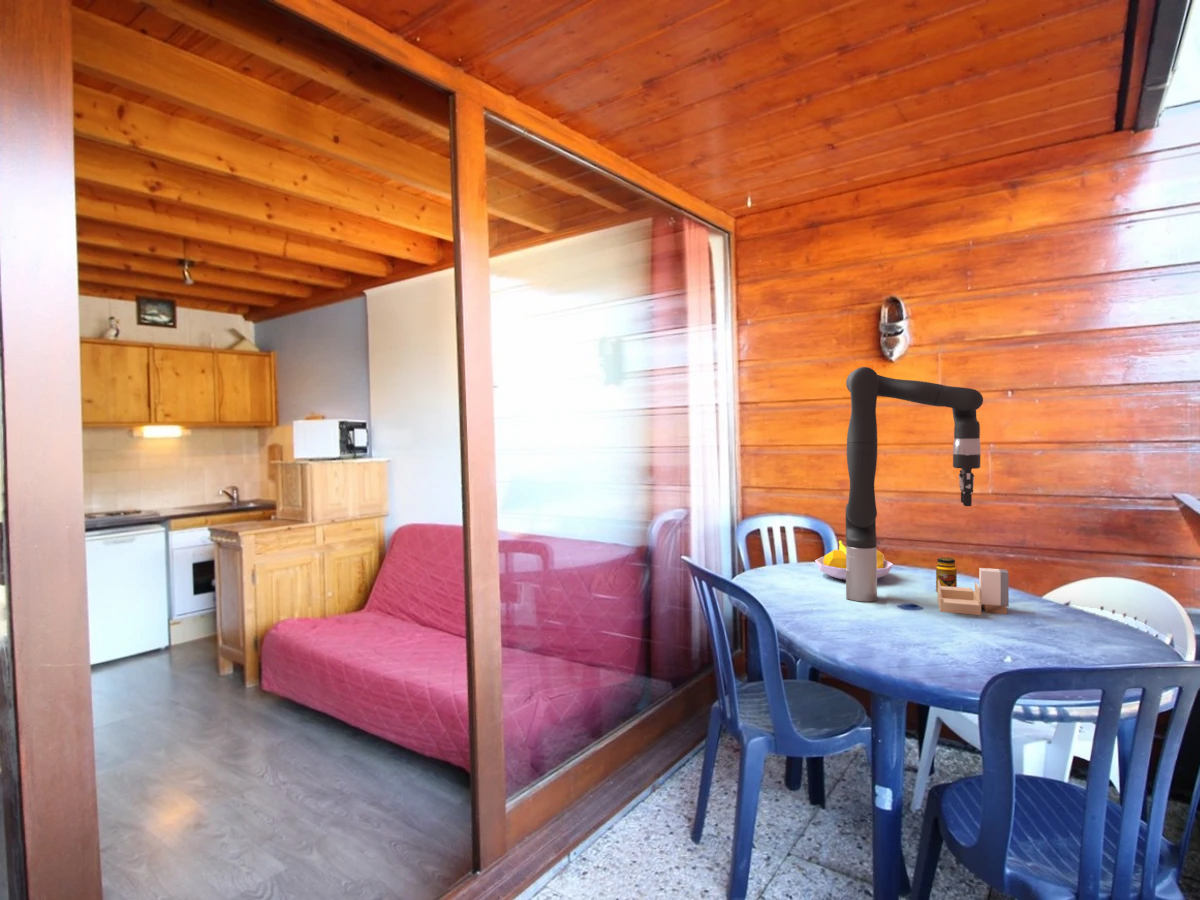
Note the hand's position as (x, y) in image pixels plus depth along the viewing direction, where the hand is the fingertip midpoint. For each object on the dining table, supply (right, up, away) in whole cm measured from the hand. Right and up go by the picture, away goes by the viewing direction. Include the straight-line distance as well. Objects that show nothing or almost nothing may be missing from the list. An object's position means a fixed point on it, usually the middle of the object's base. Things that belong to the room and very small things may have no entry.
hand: (966, 504), depth 203 cm
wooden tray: (-6, -32, -6) cm, 33 cm away
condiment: (0, -31, +12) cm, 33 cm away
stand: (+3, -31, -9) cm, 33 cm away
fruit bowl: (-20, -31, +39) cm, 53 cm away
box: (+3, -29, -9) cm, 31 cm away
